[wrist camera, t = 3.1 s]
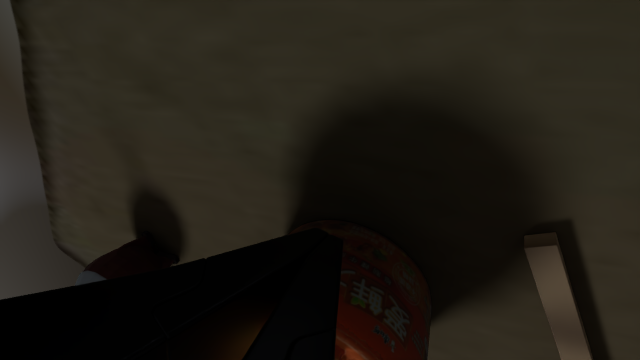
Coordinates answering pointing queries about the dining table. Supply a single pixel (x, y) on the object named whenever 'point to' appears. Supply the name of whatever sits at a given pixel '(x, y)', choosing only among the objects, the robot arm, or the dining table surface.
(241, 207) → the dining table surface
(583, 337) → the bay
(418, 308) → the food container
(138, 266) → the mate gourd
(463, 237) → the dining table surface
